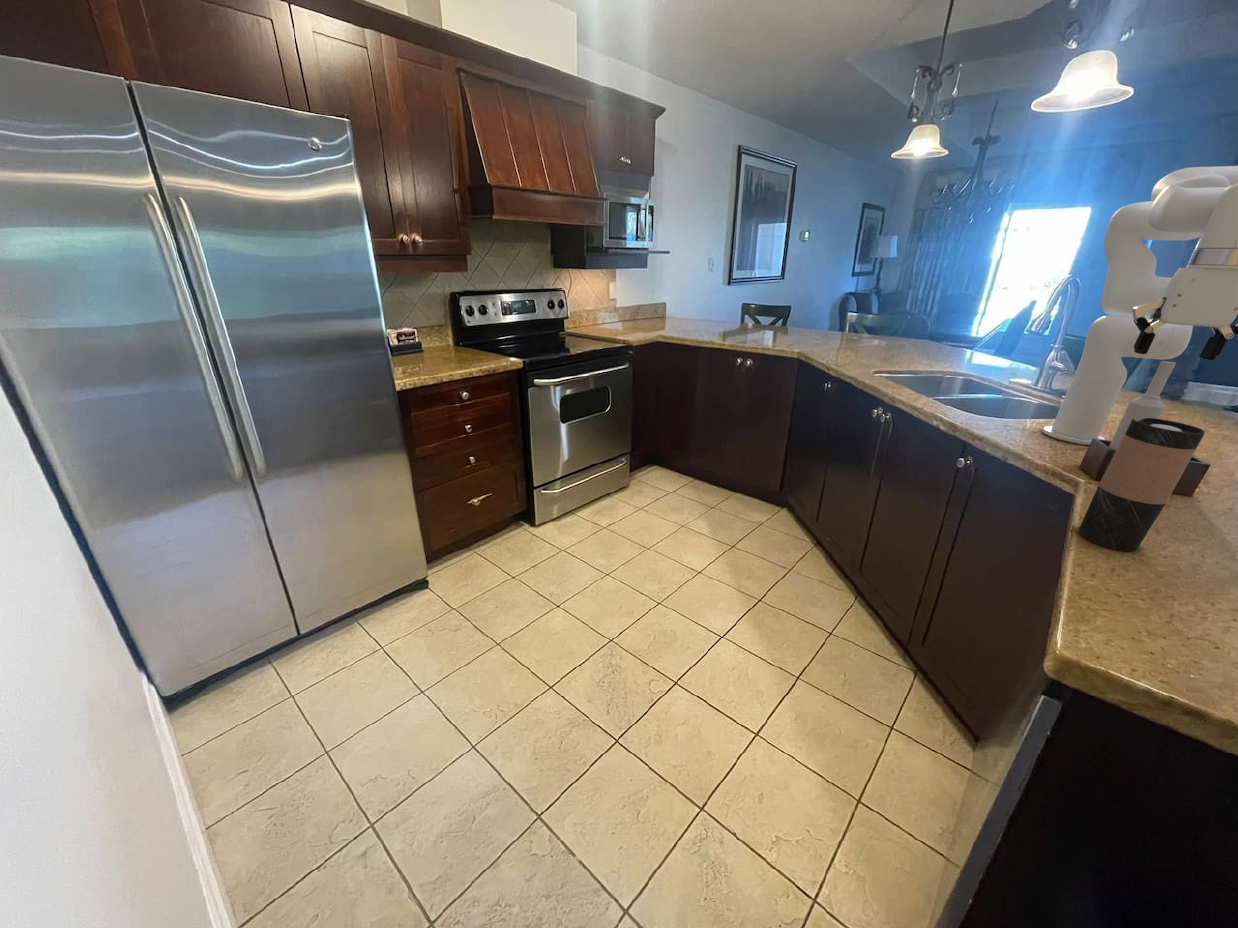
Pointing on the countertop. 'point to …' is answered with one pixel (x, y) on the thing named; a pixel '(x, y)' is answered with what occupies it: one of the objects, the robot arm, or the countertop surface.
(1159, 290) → the robot arm
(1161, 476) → the travel mug
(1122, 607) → the countertop surface
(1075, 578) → the countertop surface
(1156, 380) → the bottle
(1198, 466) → the dark brown box
